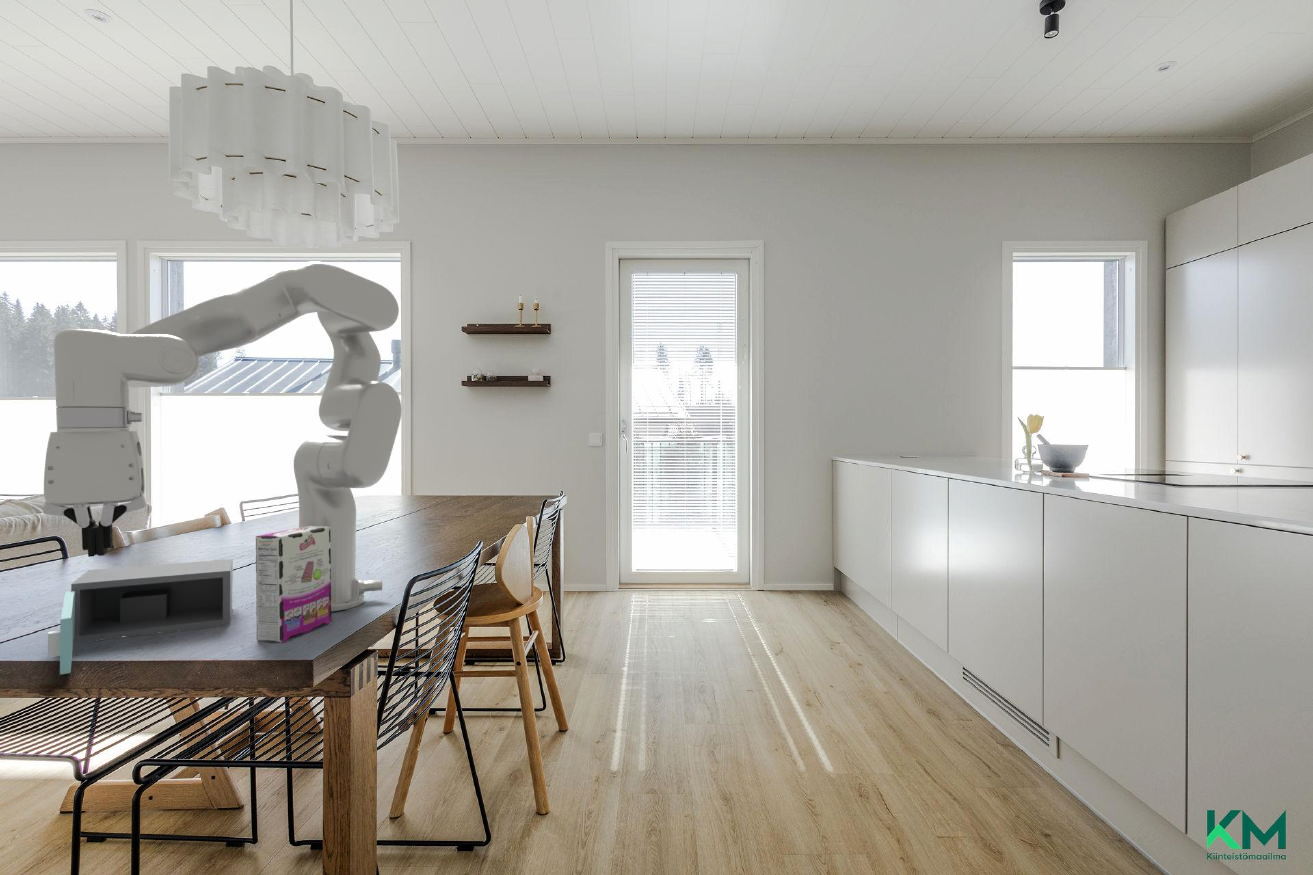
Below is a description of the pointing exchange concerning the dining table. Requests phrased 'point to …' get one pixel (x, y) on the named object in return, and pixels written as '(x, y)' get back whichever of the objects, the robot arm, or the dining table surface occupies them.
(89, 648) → the dining table surface
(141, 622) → the case
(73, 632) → the side door
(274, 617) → the candy bar box
